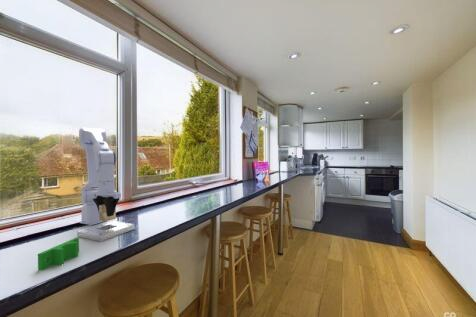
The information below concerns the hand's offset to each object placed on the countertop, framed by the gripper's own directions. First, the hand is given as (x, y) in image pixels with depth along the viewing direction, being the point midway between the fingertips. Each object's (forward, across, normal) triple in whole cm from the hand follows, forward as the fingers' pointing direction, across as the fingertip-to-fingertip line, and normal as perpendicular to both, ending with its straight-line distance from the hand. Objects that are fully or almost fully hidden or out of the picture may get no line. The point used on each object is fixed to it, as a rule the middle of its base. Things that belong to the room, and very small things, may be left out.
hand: (106, 215), depth 82 cm
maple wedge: (+2, 0, 0) cm, 2 cm away
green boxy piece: (+7, -11, +20) cm, 24 cm away
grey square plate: (+7, 0, 0) cm, 7 cm away
